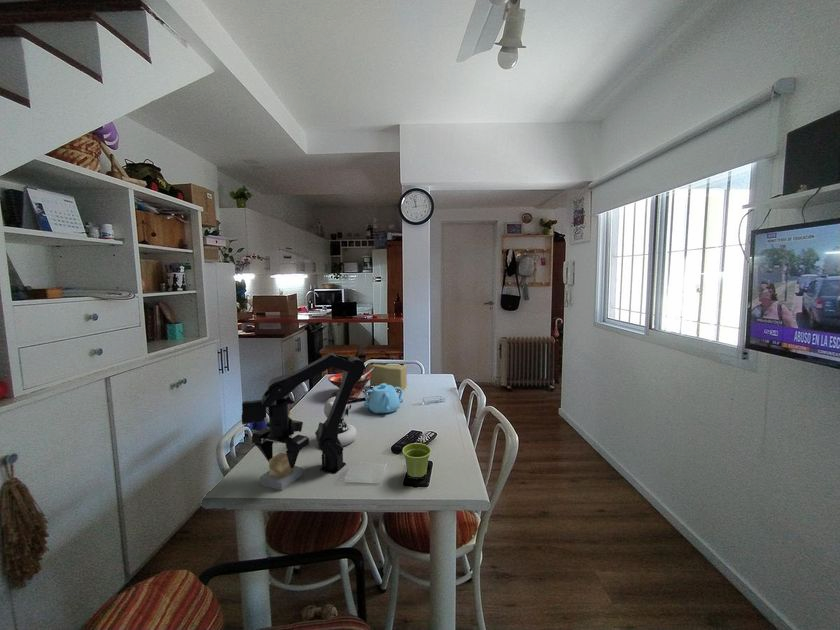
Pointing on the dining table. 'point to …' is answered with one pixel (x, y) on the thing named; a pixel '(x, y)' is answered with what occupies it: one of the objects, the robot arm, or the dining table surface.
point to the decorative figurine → (342, 424)
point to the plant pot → (416, 459)
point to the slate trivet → (281, 479)
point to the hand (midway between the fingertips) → (281, 464)
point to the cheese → (389, 375)
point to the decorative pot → (383, 398)
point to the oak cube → (279, 465)
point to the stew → (357, 387)
